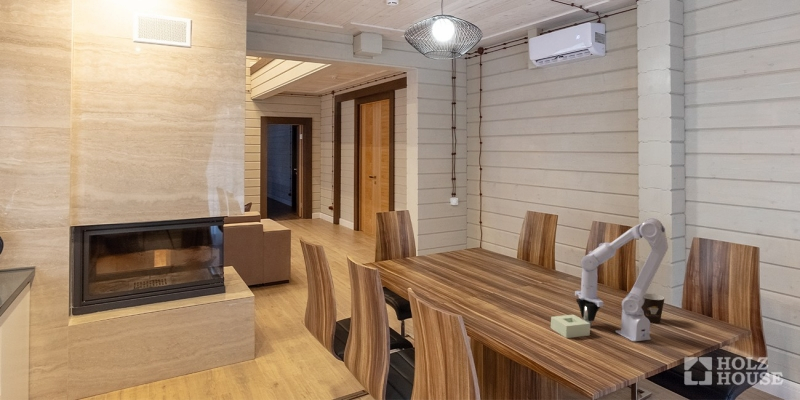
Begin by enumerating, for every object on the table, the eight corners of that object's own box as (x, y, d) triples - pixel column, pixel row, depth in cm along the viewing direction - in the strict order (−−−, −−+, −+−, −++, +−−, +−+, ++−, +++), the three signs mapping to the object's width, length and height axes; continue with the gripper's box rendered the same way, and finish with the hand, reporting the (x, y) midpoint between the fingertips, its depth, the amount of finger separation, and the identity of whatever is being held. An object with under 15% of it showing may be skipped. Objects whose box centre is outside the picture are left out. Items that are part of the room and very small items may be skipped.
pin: (593, 327, 179) (594, 307, 178) (586, 328, 178) (587, 307, 178) (588, 324, 182) (589, 304, 181) (581, 325, 181) (582, 305, 180)
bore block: (589, 335, 171) (590, 323, 171) (566, 338, 169) (566, 326, 168) (573, 325, 181) (573, 314, 180) (550, 328, 178) (551, 316, 178)
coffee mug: (665, 320, 186) (667, 296, 185) (659, 326, 180) (661, 301, 179) (634, 313, 194) (636, 290, 193) (628, 318, 188) (629, 295, 187)
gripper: (568, 280, 185) (567, 313, 186) (592, 291, 171) (591, 326, 172) (584, 279, 186) (582, 312, 188) (608, 289, 172) (607, 324, 174)
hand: (587, 319), depth 180 cm, fingers open, 3 cm apart
